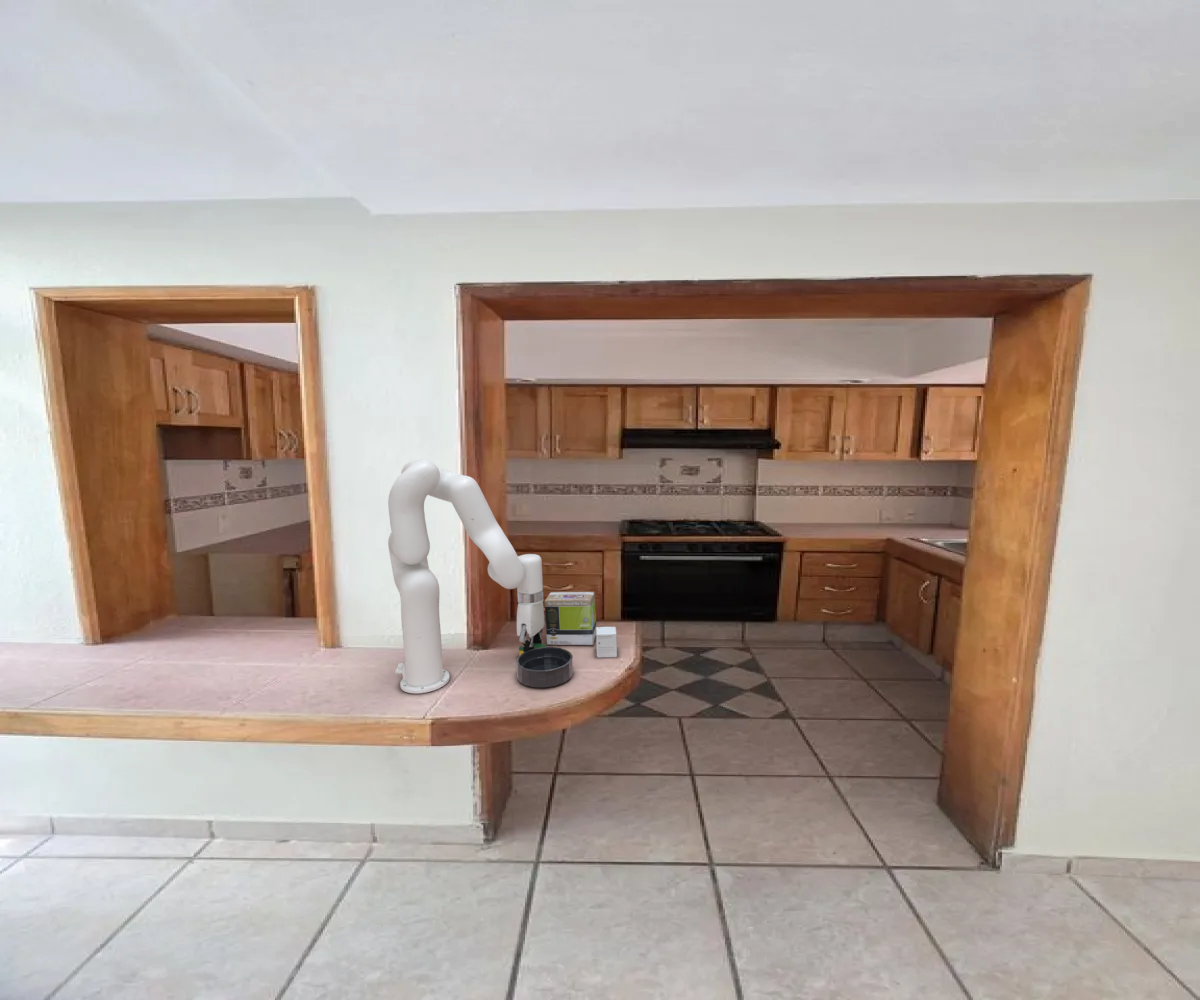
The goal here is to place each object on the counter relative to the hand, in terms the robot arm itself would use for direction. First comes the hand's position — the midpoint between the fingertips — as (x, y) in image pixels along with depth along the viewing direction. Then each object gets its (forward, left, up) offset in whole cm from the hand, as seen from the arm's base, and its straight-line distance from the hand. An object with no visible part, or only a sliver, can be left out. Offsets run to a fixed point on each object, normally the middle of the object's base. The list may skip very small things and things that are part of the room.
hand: (533, 654), depth 149 cm
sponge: (0, 0, 0) cm, 0 cm away
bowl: (+9, -11, 0) cm, 14 cm away
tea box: (+7, +14, -1) cm, 16 cm away
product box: (+21, +7, -1) cm, 22 cm away
